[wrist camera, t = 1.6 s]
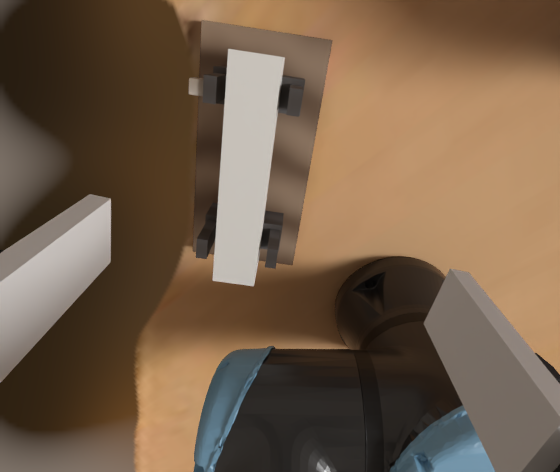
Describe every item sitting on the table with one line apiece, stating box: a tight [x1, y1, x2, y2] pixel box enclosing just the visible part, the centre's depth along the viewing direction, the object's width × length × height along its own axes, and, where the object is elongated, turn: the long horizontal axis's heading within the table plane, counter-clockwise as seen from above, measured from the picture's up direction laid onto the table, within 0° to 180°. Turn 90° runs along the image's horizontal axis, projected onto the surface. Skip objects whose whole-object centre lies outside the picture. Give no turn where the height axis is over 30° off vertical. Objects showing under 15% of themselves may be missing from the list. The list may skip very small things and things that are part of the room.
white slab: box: [213, 49, 285, 286], centre depth 33 cm, size 20×4×5 cm, turn 172°
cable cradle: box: [189, 20, 332, 268], centre depth 35 cm, size 24×12×10 cm, turn 172°
